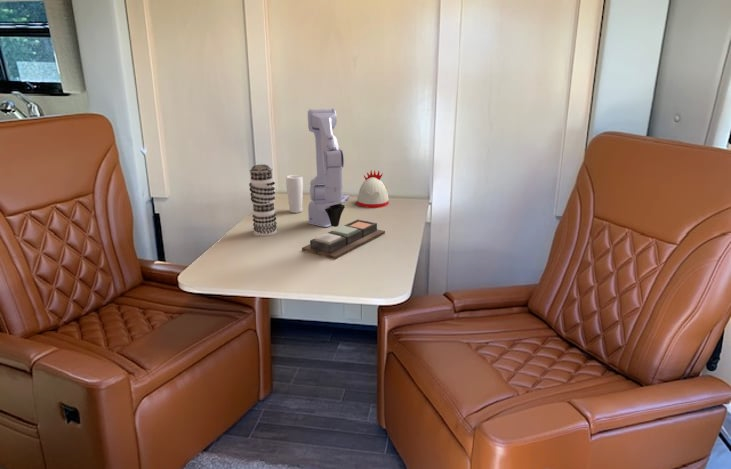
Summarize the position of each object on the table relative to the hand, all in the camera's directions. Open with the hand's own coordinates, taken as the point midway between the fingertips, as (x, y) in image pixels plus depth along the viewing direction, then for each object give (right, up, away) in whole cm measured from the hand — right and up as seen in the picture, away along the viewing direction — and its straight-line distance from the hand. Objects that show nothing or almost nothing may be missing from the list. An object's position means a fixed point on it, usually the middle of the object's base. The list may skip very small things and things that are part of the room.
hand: (334, 225), depth 177 cm
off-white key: (-2, -6, -1) cm, 6 cm away
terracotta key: (+9, -1, +14) cm, 16 cm away
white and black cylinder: (-27, -2, +18) cm, 32 cm away
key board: (+3, -5, +7) cm, 9 cm away
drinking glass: (-19, +7, +42) cm, 46 cm away
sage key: (+3, -3, +6) cm, 8 cm away
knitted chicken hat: (+14, +11, +53) cm, 56 cm away
